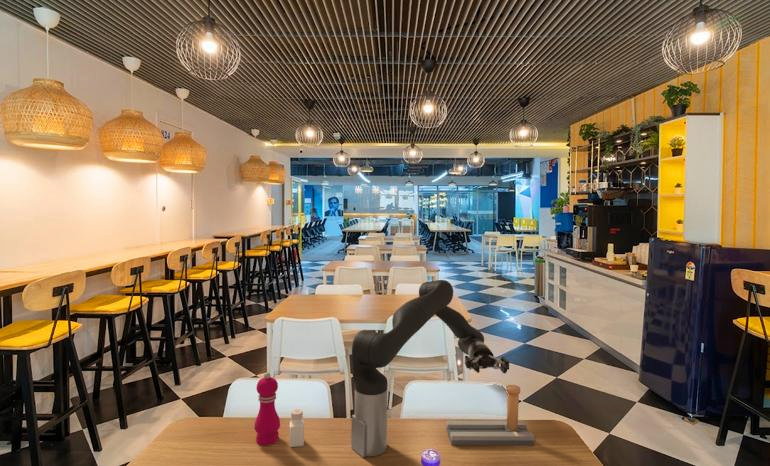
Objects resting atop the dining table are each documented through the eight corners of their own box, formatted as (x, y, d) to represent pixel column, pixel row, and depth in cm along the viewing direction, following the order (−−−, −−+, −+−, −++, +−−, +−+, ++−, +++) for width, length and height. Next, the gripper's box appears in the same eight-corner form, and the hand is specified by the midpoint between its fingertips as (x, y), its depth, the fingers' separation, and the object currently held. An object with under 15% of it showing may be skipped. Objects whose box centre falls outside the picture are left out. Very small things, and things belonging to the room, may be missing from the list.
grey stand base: (451, 445, 124) (451, 435, 124) (446, 429, 133) (446, 420, 133) (534, 445, 124) (534, 436, 124) (523, 429, 133) (523, 420, 133)
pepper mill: (285, 439, 126) (285, 372, 124) (263, 449, 120) (262, 379, 119) (271, 430, 131) (271, 366, 129) (249, 439, 125) (249, 372, 124)
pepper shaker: (303, 447, 122) (303, 414, 121) (289, 448, 121) (289, 415, 121) (304, 439, 126) (304, 407, 125) (290, 440, 125) (290, 408, 125)
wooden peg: (507, 435, 126) (508, 390, 126) (503, 428, 130) (504, 384, 130) (520, 435, 127) (522, 390, 126) (516, 428, 131) (517, 384, 130)
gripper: (460, 343, 155) (470, 358, 138) (500, 344, 155) (514, 359, 138) (460, 364, 155) (469, 381, 139) (499, 365, 155) (513, 382, 139)
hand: (491, 370), depth 139 cm, fingers open, 8 cm apart
